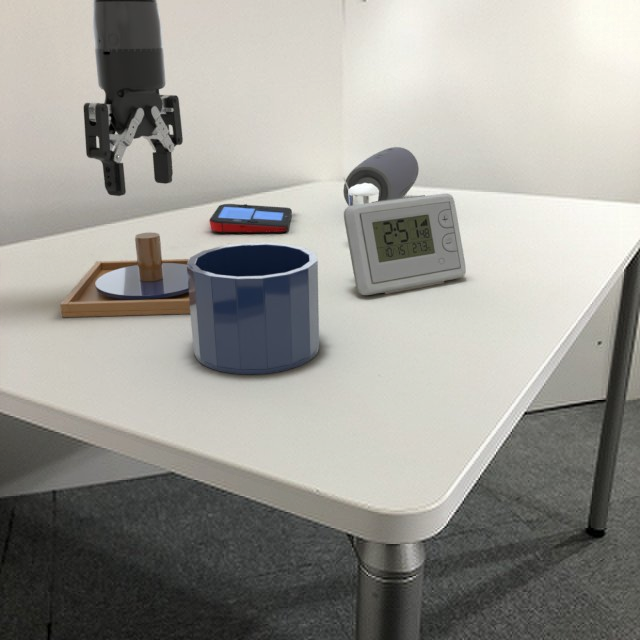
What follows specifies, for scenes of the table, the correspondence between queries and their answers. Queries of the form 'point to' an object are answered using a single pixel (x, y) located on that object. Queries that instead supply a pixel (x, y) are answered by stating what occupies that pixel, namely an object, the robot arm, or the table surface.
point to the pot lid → (145, 274)
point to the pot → (254, 307)
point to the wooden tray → (93, 303)
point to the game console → (250, 219)
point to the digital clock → (404, 243)
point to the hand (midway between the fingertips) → (140, 188)
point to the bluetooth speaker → (386, 173)
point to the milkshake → (362, 193)
